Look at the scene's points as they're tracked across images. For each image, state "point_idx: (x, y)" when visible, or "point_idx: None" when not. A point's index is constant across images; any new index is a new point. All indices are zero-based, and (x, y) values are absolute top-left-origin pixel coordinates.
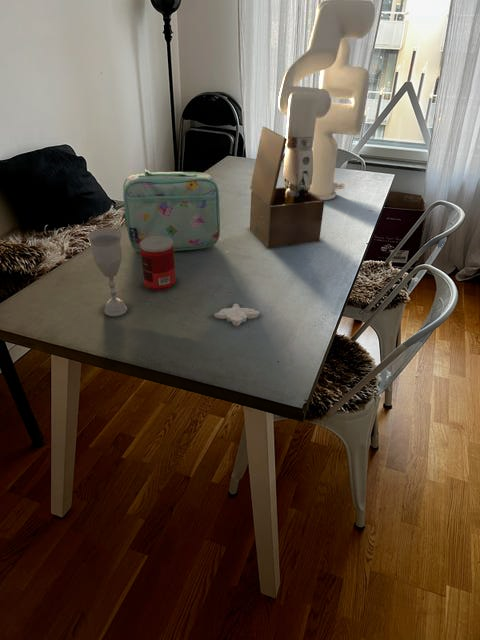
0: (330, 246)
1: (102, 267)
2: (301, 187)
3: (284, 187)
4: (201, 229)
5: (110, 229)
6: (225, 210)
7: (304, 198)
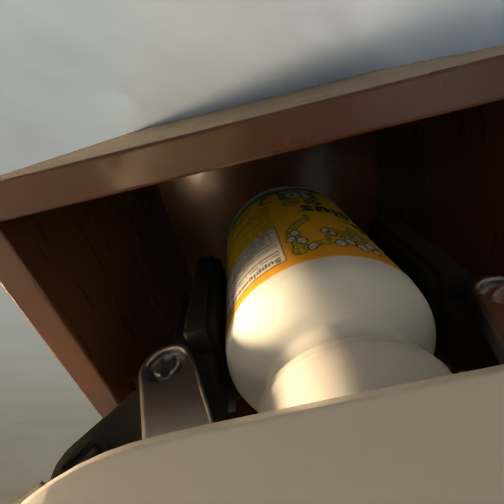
0: (461, 17)
1: None
2: (447, 370)
3: (89, 385)
4: None
5: None
6: (25, 399)
7: (443, 258)
